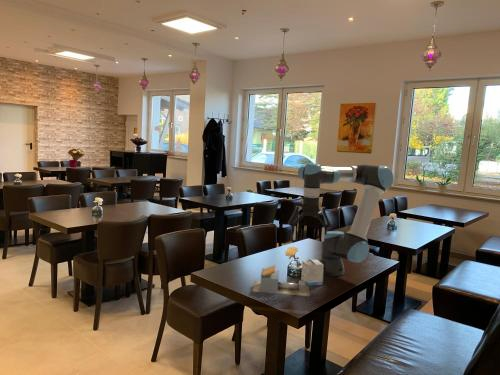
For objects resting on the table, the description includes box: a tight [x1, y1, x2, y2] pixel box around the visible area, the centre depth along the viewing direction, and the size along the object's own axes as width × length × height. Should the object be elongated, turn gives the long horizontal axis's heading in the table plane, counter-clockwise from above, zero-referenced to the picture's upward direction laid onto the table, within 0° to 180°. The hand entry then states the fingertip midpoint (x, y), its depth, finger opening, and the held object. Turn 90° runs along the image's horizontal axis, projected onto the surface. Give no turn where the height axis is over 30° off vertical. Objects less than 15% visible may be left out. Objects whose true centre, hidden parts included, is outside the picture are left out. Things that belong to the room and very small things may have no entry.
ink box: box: [300, 257, 324, 287], centre depth 190 cm, size 9×8×13 cm
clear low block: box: [278, 279, 307, 293], centre depth 179 cm, size 14×6×4 cm, turn 84°
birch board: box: [251, 280, 311, 297], centre depth 180 cm, size 27×13×1 cm, turn 84°
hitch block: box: [259, 270, 280, 294], centre depth 180 cm, size 8×12×6 cm, turn 174°
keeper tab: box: [260, 264, 276, 278], centre depth 180 cm, size 7×10×1 cm
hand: (308, 240), depth 179 cm, fingers open, 13 cm apart
